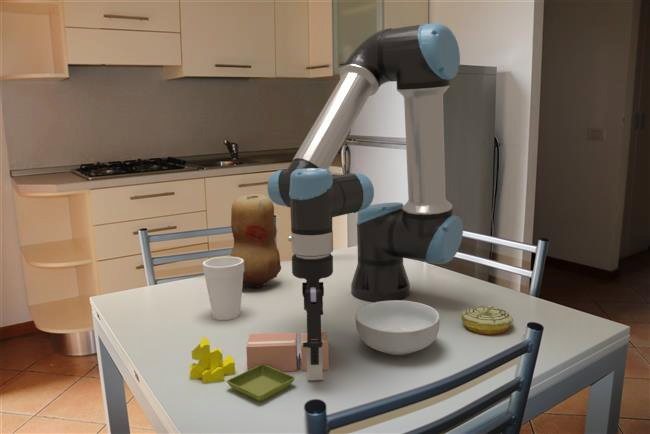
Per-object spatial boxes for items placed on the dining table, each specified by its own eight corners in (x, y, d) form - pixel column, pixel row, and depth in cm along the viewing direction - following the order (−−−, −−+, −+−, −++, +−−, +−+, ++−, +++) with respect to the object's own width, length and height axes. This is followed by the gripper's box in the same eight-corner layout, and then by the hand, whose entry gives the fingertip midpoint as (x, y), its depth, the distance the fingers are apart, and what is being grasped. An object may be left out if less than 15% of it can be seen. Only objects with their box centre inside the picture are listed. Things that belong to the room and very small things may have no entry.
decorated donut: (520, 326, 124) (521, 309, 124) (498, 341, 117) (498, 324, 116) (476, 315, 131) (477, 299, 131) (452, 328, 124) (453, 312, 123)
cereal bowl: (354, 331, 123) (354, 300, 122) (432, 330, 123) (432, 299, 121) (356, 366, 107) (356, 330, 105) (446, 366, 106) (446, 330, 105)
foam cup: (238, 323, 129) (235, 268, 126) (199, 321, 131) (196, 266, 128) (251, 309, 138) (249, 257, 135) (215, 307, 140) (212, 255, 137)
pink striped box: (300, 356, 111) (299, 331, 110) (299, 370, 105) (299, 344, 104) (250, 358, 111) (249, 333, 110) (247, 372, 105) (246, 346, 104)
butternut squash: (232, 295, 148) (226, 200, 143) (228, 280, 161) (223, 193, 156) (285, 290, 151) (281, 197, 146) (277, 276, 164) (273, 190, 159)
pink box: (327, 356, 111) (327, 331, 110) (329, 370, 105) (328, 344, 104) (302, 357, 111) (301, 332, 110) (301, 371, 105) (301, 345, 104)
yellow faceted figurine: (236, 379, 103) (233, 339, 101) (190, 385, 101) (187, 344, 99) (233, 365, 108) (231, 327, 107) (190, 370, 107) (187, 331, 105)
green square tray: (225, 391, 99) (225, 380, 99) (263, 373, 105) (262, 363, 105) (259, 408, 93) (258, 396, 93) (296, 388, 100) (296, 377, 99)
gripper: (293, 238, 116) (295, 337, 120) (289, 273, 92) (293, 395, 96) (330, 238, 116) (331, 336, 120) (336, 272, 92) (337, 394, 96)
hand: (314, 362), depth 108 cm, fingers open, 13 cm apart
